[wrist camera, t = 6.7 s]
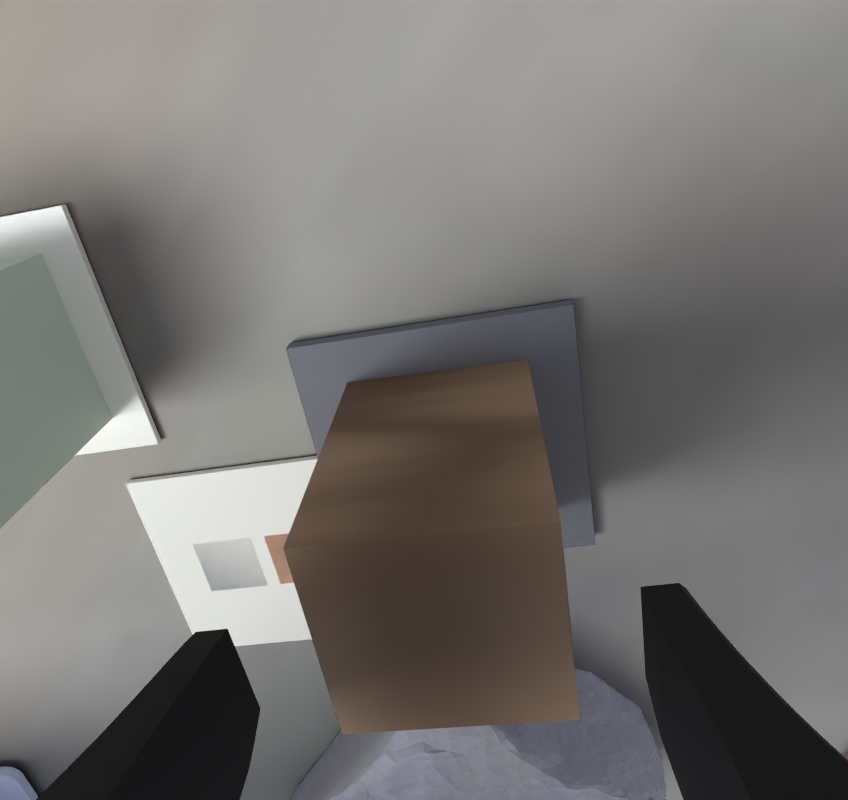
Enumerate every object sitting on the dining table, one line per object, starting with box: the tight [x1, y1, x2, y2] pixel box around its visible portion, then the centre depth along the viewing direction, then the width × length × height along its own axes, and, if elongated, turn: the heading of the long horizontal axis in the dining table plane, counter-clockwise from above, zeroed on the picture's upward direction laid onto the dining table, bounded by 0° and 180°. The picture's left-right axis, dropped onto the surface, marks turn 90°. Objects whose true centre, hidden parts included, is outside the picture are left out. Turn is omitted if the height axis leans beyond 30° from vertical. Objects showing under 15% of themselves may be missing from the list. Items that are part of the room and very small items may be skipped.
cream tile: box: [126, 456, 318, 646], centre depth 20 cm, size 6×6×1 cm
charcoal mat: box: [286, 300, 595, 548], centre depth 18 cm, size 7×7×1 cm
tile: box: [0, 204, 161, 455], centre depth 17 cm, size 6×6×1 cm
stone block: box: [290, 668, 666, 800], centre depth 23 cm, size 12×5×10 cm
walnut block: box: [283, 359, 579, 734], centre depth 15 cm, size 4×4×6 cm
